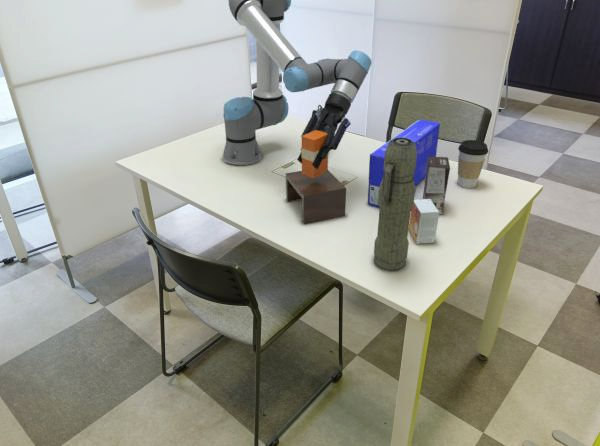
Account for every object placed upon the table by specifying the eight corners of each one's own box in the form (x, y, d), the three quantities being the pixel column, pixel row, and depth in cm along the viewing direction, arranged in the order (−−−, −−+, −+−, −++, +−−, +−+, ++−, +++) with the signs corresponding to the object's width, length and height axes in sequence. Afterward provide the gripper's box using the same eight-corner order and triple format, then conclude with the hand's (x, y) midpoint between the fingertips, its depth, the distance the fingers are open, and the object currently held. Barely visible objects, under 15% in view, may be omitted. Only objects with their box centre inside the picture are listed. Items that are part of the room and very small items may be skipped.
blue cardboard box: (414, 164, 187) (419, 118, 177) (434, 169, 183) (441, 122, 173) (365, 204, 160) (369, 152, 150) (388, 211, 156) (393, 158, 146)
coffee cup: (486, 183, 172) (494, 144, 164) (473, 193, 166) (481, 152, 158) (460, 175, 178) (467, 137, 170) (447, 184, 172) (453, 145, 164)
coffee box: (442, 215, 154) (450, 168, 145) (422, 213, 155) (428, 167, 146) (441, 201, 161) (448, 156, 153) (421, 199, 162) (428, 155, 154)
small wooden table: (286, 200, 163) (285, 173, 158) (324, 193, 167) (324, 166, 162) (303, 224, 149) (303, 195, 144) (345, 216, 154) (346, 188, 148)
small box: (408, 229, 146) (412, 199, 141) (426, 228, 146) (430, 198, 141) (415, 244, 139) (420, 212, 134) (434, 243, 140) (439, 211, 134)
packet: (301, 174, 151) (301, 136, 144) (315, 166, 156) (315, 129, 149) (314, 178, 148) (314, 140, 142) (328, 170, 153) (329, 133, 146)
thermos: (413, 256, 134) (429, 137, 116) (395, 278, 126) (409, 153, 108) (384, 246, 138) (396, 130, 120) (365, 266, 130) (374, 145, 112)
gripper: (369, 110, 148) (336, 177, 145) (322, 99, 158) (290, 161, 155) (361, 97, 141) (325, 167, 139) (312, 86, 151) (279, 151, 149)
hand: (307, 164), depth 147 cm, fingers closed on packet, 5 cm apart
